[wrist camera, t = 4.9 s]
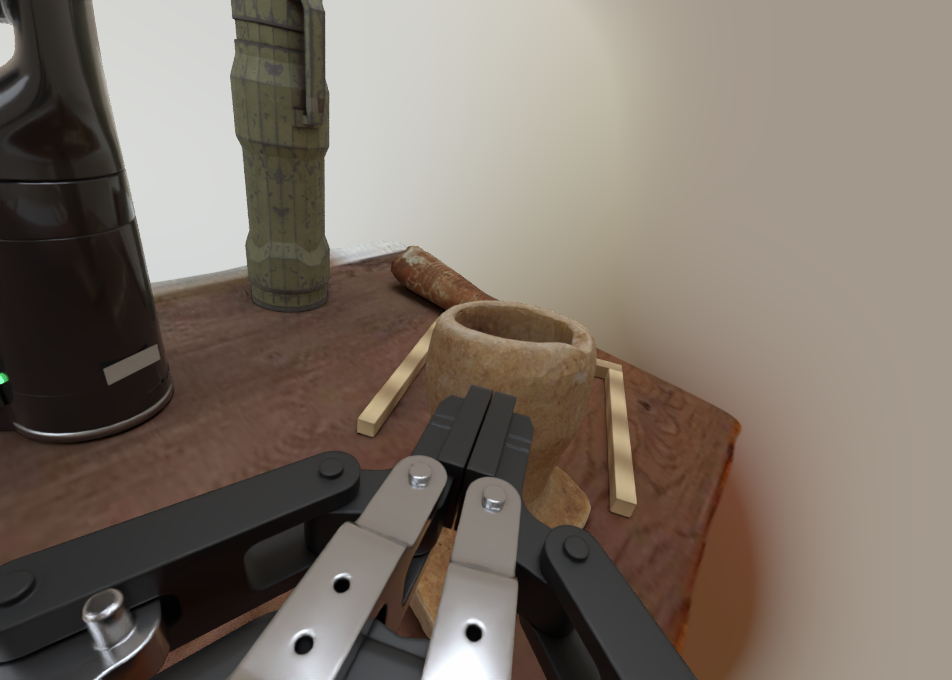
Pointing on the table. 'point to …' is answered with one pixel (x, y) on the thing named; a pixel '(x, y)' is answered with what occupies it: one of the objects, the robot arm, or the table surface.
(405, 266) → the rusty brown cylinder
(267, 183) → the thermos
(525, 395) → the stone cup
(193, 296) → the table surface
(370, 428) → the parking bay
